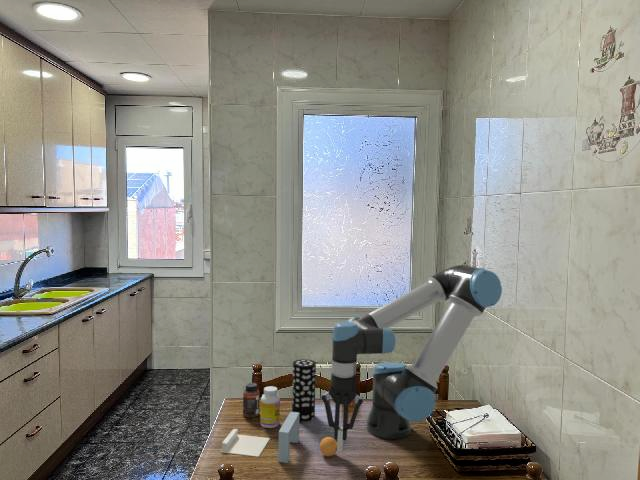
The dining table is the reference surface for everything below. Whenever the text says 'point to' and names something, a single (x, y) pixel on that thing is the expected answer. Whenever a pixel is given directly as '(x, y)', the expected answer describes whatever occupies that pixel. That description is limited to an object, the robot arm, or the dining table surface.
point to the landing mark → (247, 445)
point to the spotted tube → (304, 389)
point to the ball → (328, 446)
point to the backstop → (229, 439)
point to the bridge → (288, 436)
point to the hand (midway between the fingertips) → (339, 449)
